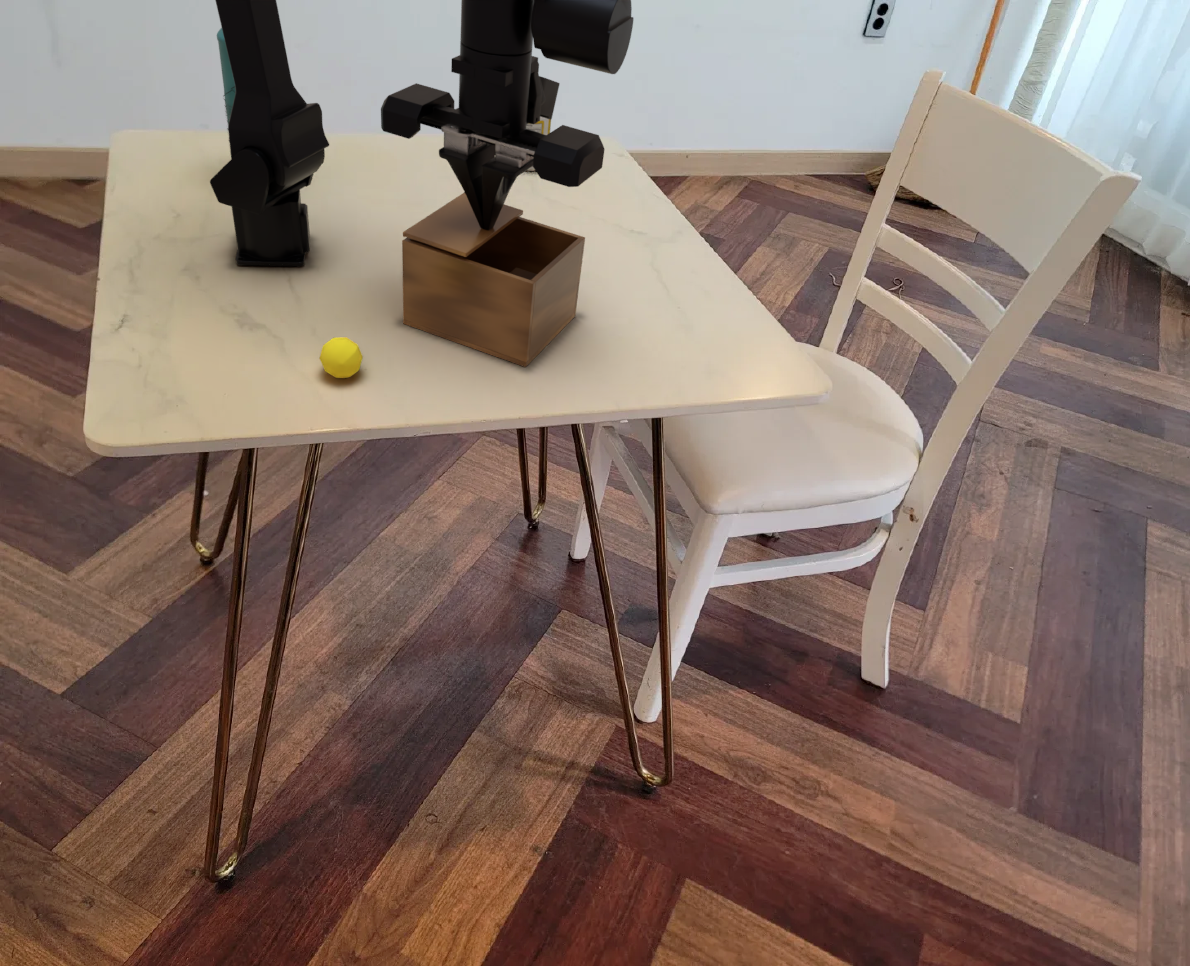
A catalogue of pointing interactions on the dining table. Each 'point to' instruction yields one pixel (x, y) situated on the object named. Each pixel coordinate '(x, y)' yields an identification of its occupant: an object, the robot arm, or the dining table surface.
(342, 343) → the yellow lemon
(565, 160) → the robot arm
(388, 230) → the dining table surface
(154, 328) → the dining table surface
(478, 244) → the flap
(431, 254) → the brown wooden open box
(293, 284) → the dining table surface
